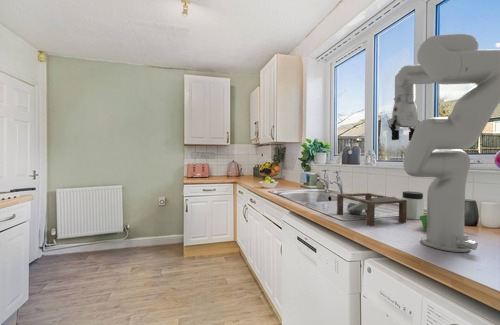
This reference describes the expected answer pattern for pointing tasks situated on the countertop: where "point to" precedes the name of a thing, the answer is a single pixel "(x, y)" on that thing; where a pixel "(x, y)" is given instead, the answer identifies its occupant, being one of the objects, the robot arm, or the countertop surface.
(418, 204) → the jar
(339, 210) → the trapdoor frame
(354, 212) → the metal canister
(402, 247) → the countertop surface
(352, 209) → the trapdoor
